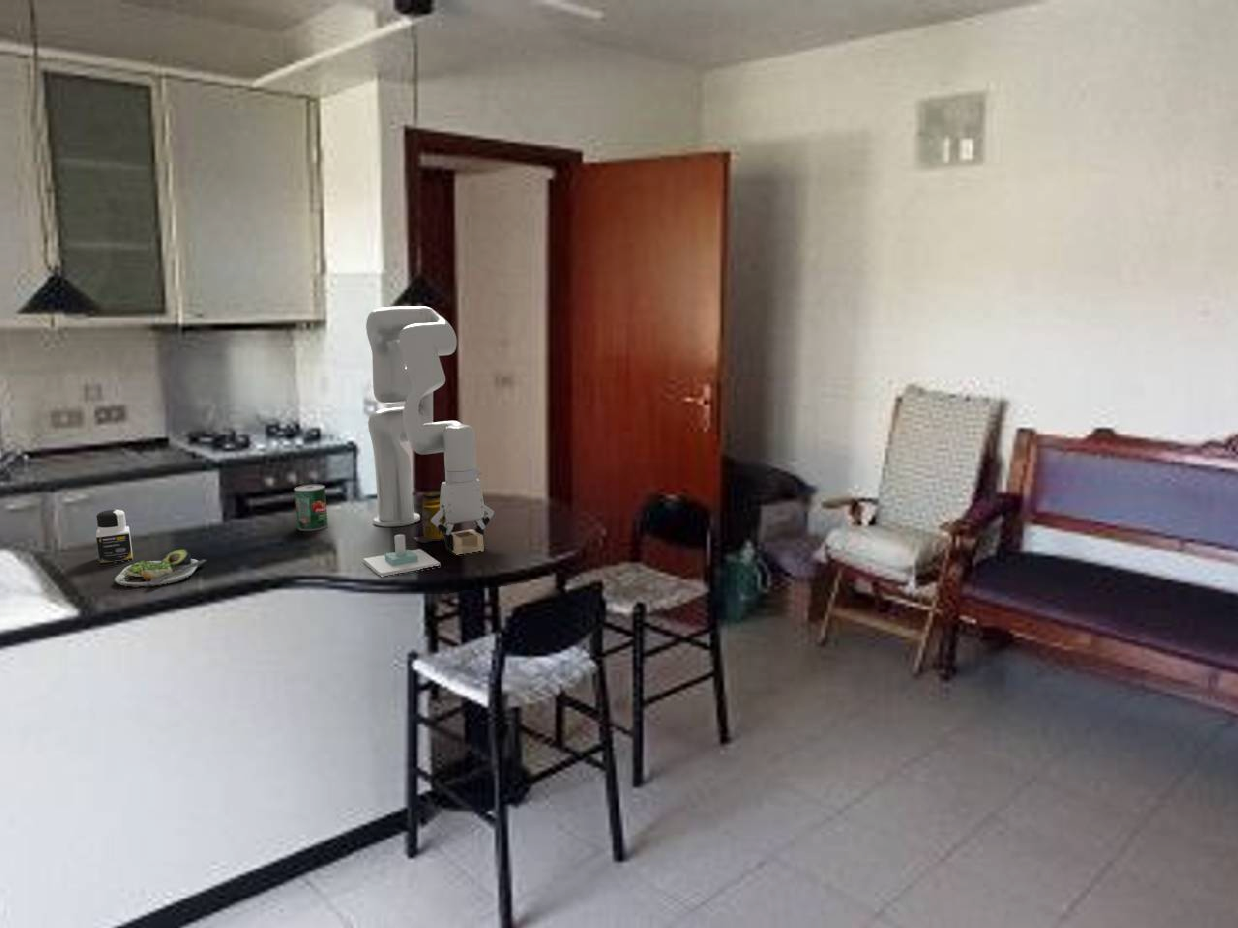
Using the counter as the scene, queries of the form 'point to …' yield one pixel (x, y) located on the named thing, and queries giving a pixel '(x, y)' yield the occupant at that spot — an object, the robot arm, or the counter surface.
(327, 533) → the counter surface
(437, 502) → the condiment
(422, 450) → the robot arm
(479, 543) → the collar
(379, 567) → the post block
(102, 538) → the medicine bottle
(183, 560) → the salad plate
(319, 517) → the canned tomato
